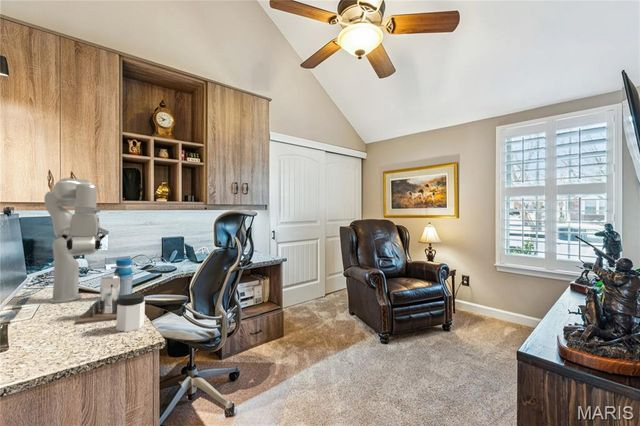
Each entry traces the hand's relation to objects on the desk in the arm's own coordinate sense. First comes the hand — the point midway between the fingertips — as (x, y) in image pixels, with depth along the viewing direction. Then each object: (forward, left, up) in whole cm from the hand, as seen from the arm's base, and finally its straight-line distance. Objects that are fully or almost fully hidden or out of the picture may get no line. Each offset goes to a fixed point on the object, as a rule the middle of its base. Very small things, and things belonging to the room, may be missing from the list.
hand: (83, 249), depth 128 cm
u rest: (+10, +12, -28) cm, 32 cm away
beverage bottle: (-19, +12, -28) cm, 36 cm away
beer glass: (+10, +12, -27) cm, 31 cm away
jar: (+32, +23, -28) cm, 48 cm away
